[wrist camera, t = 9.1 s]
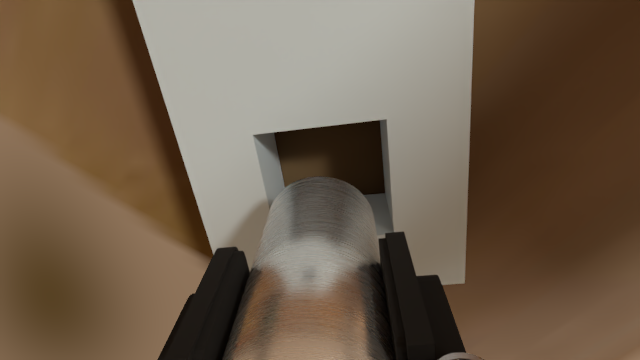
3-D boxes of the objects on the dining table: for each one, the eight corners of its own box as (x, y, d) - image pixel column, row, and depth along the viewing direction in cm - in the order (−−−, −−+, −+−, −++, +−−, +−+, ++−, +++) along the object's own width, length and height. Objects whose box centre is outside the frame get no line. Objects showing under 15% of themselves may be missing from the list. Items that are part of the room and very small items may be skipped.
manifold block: (447, -310, 13) (488, -427, 9) (444, 236, 22) (464, 283, 19) (112, -233, 14) (33, -309, 10) (245, 253, 24) (227, 300, 20)
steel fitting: (370, 170, 13) (435, 534, 4) (378, 262, 15) (437, 660, 6) (258, 182, 14) (107, 538, 5) (278, 270, 15) (195, 656, 6)
